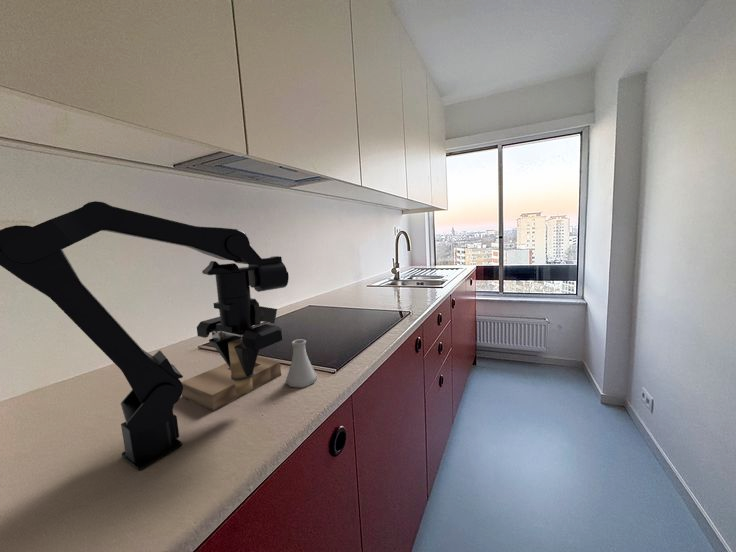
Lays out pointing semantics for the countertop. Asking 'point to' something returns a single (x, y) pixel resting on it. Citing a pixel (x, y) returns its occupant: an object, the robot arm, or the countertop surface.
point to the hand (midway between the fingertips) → (242, 373)
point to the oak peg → (239, 370)
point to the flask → (300, 367)
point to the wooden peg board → (226, 384)
